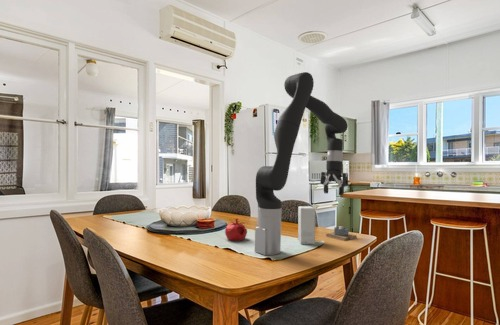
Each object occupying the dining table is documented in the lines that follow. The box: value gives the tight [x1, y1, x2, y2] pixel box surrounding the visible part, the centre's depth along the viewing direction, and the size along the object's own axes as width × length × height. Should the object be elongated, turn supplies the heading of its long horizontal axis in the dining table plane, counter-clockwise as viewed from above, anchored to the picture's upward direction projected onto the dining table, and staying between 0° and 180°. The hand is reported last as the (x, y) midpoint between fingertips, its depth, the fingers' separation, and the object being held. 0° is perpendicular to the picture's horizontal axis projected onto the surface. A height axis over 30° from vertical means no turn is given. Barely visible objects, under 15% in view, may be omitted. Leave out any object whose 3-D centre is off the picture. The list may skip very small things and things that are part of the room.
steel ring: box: [333, 226, 350, 236], centre depth 148 cm, size 6×6×3 cm
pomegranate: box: [224, 217, 248, 242], centre depth 138 cm, size 10×10×9 cm
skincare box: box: [297, 205, 316, 245], centre depth 136 cm, size 8×7×16 cm
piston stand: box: [325, 225, 357, 242], centre depth 148 cm, size 10×10×5 cm
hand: (333, 194), depth 147 cm, fingers open, 8 cm apart
